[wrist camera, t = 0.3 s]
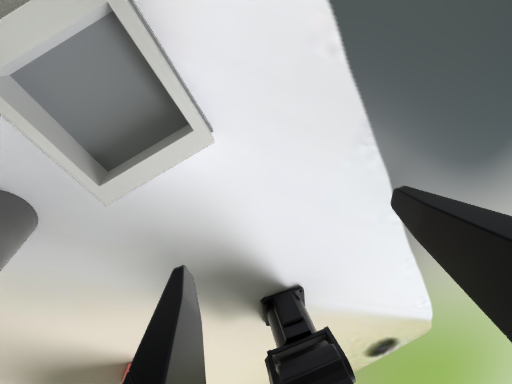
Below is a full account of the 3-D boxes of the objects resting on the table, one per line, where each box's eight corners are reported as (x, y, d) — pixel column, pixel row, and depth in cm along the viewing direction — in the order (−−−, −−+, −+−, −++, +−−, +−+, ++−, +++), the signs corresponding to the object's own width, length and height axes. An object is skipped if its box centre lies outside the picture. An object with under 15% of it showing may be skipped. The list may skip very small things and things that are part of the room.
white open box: (212, 128, 21) (216, 141, 18) (114, 185, 21) (103, 207, 18) (116, -26, 15) (100, -45, 12) (-19, 58, 15) (-67, 60, 12)
